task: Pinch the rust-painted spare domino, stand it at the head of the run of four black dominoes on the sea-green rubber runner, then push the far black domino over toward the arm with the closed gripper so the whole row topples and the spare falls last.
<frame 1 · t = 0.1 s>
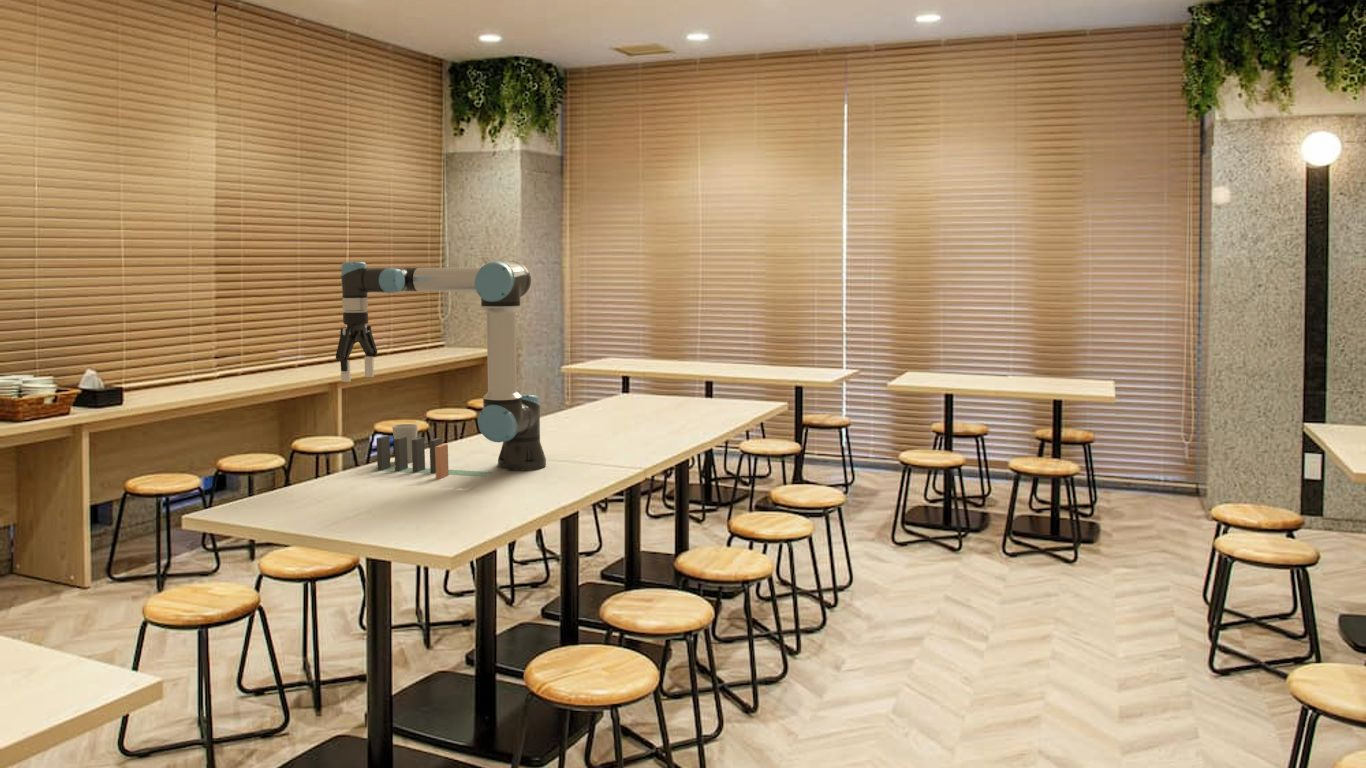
hand: (358, 379, 338), 28 cm above the table, fingers open, 13 cm apart
cup: (406, 463, 349), on the table
domino 2: (436, 471, 332), resting on runner
runner: (432, 472, 333), on the table
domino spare: (442, 478, 324), on the table
domino 5: (384, 468, 337), resting on runner
domino 3: (419, 470, 334), resting on runner
domino 4: (401, 469, 335), resting on runner
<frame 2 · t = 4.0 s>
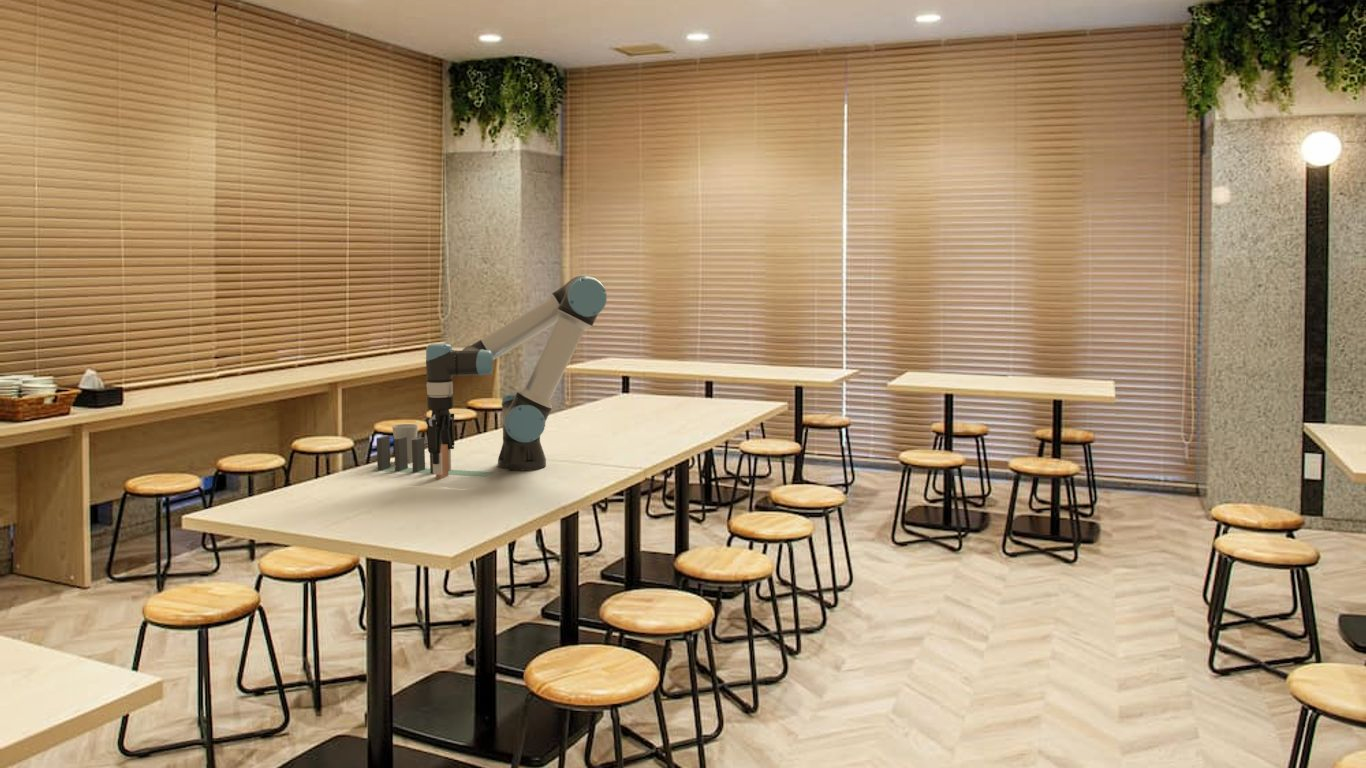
hand: (442, 472, 324), 2 cm above the table, fingers closed on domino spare, 5 cm apart
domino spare: (442, 478, 324), on the table, touching gripper
everything else where it was.
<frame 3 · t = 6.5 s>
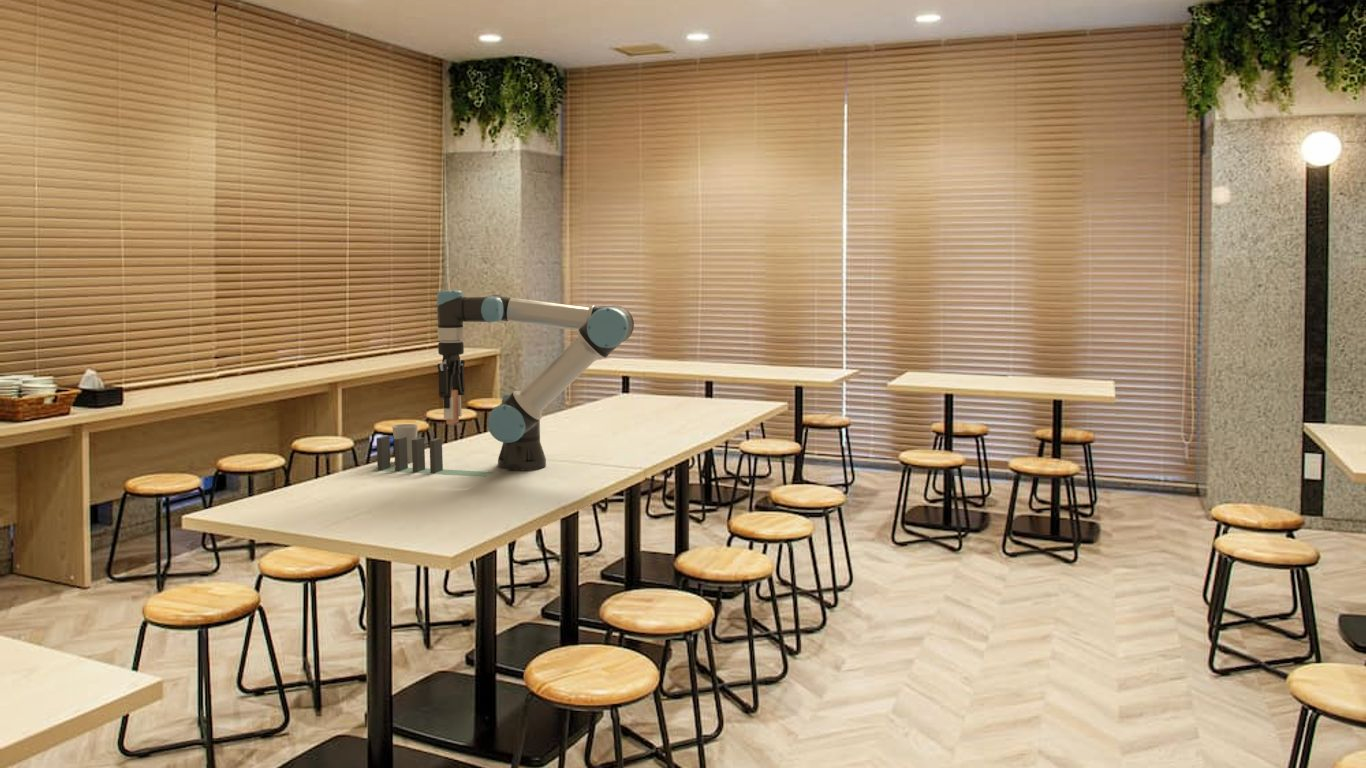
hand: (452, 417, 329), 17 cm above the table, fingers closed on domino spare, 5 cm apart
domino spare: (452, 423, 329), point 16 cm above the table, touching gripper
everything else where it was.
when the fingers open (3 cm above the table, at t = 9.3 s): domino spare stays where it is, resting on runner.
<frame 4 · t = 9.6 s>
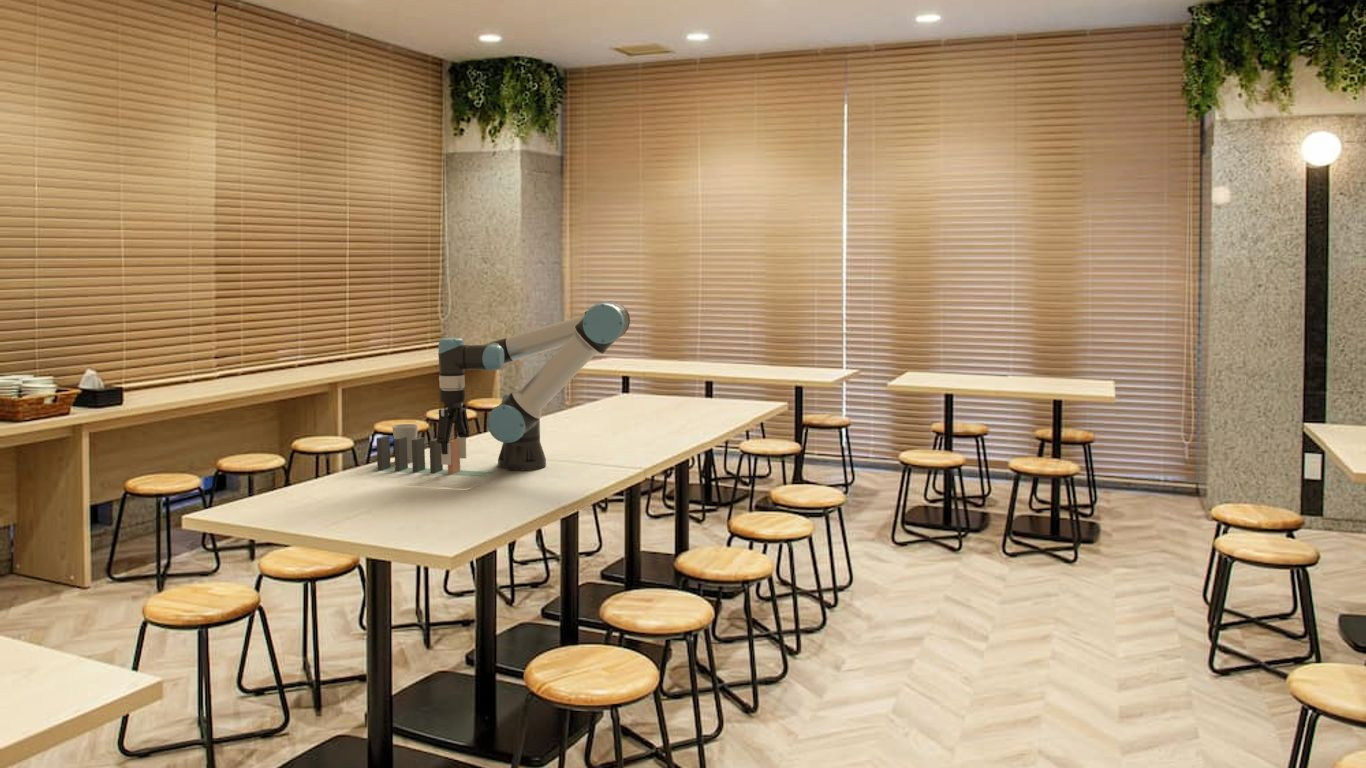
hand: (454, 461, 330), 4 cm above the table, fingers open, 10 cm apart
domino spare: (454, 472, 331), resting on runner
everything else where it was.
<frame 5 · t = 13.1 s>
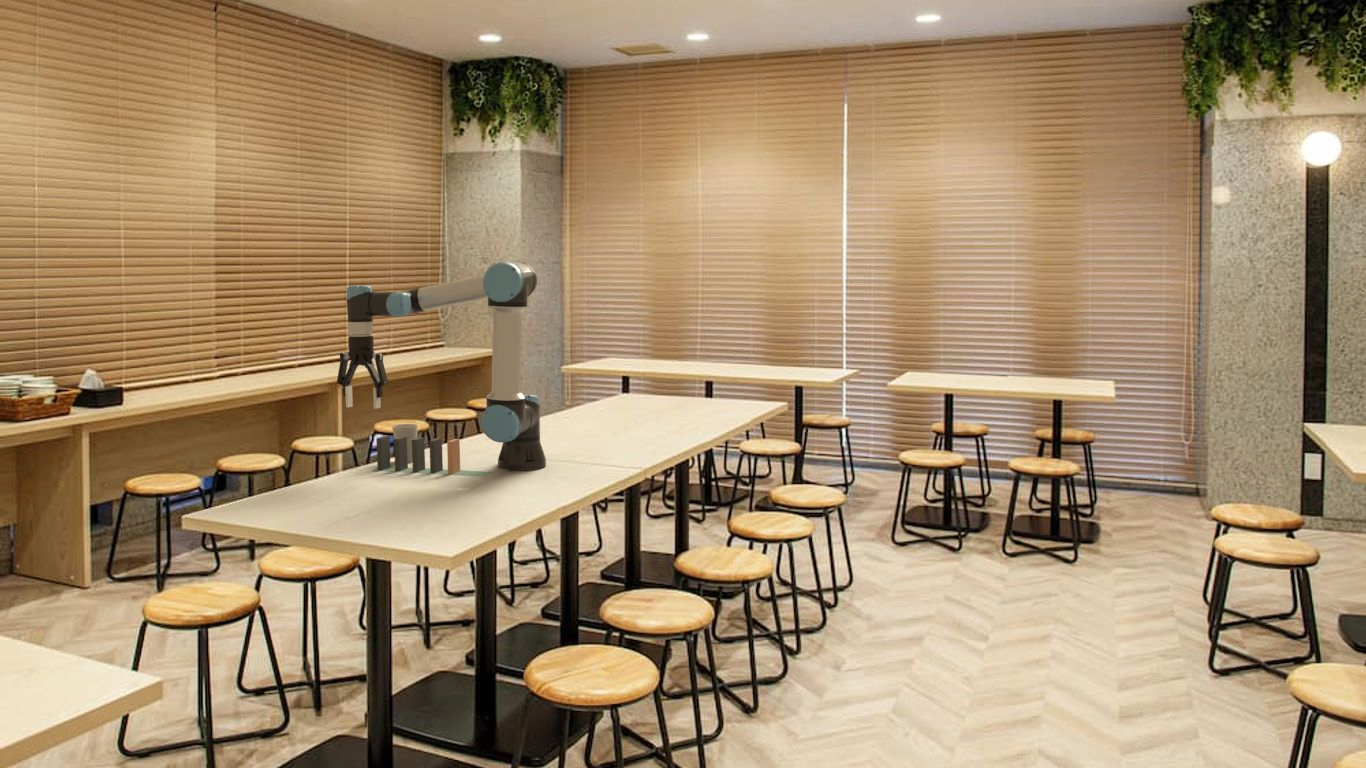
hand: (363, 407, 336), 20 cm above the table, fingers open, 9 cm apart
nothing on the table moved.
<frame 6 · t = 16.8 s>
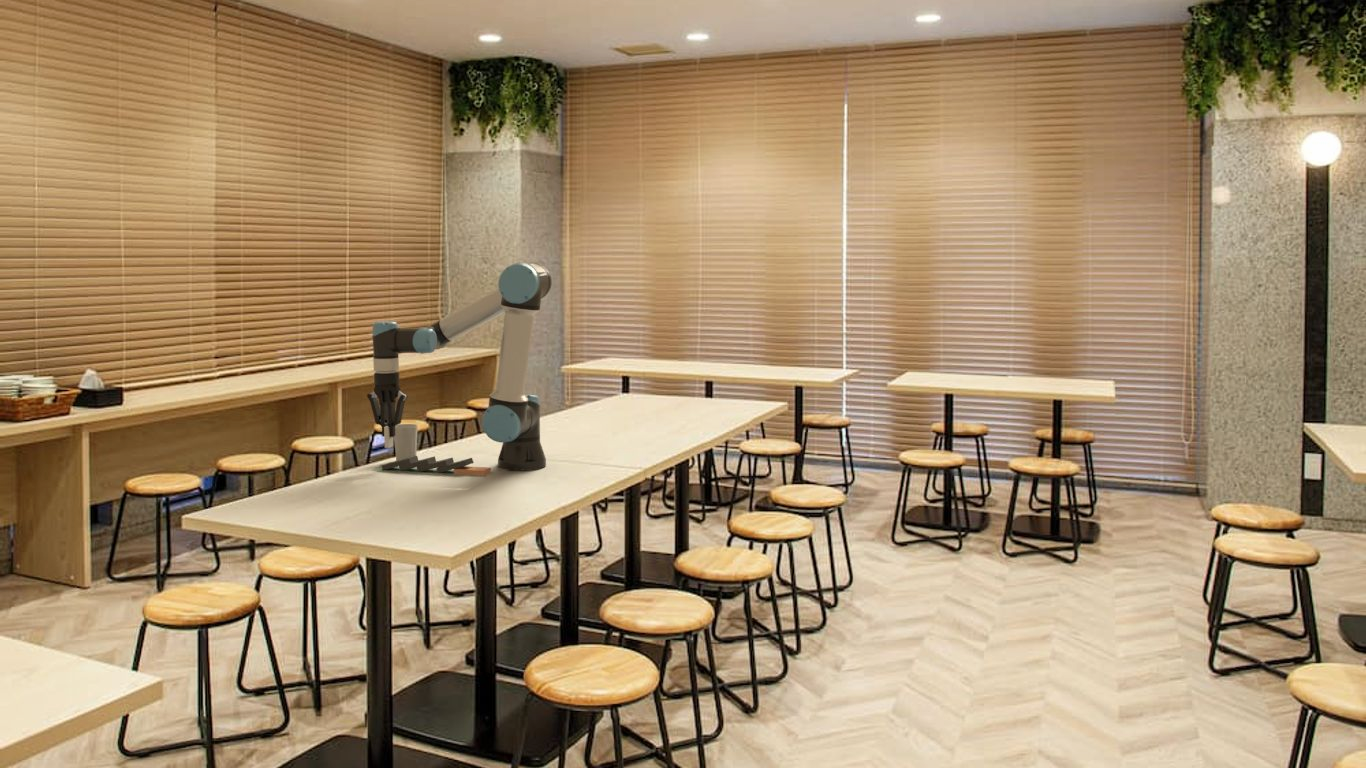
hand: (389, 447, 335), 7 cm above the table, fingers closed
domino 2: (440, 469, 332), point 1 cm above the table, tilted 73°, touching domino 3, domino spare, runner
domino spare: (457, 470, 330), point 1 cm above the table, tilted 90°, touching domino 2, runner
domino 5: (386, 466, 336), point 1 cm above the table, tilted 75°, touching domino 4, runner
domino 3: (421, 468, 333), point 1 cm above the table, tilted 75°, touching domino 2, domino 4, runner
domino 4: (403, 467, 335), point 1 cm above the table, tilted 75°, touching domino 3, domino 5, runner
everything else where it was.
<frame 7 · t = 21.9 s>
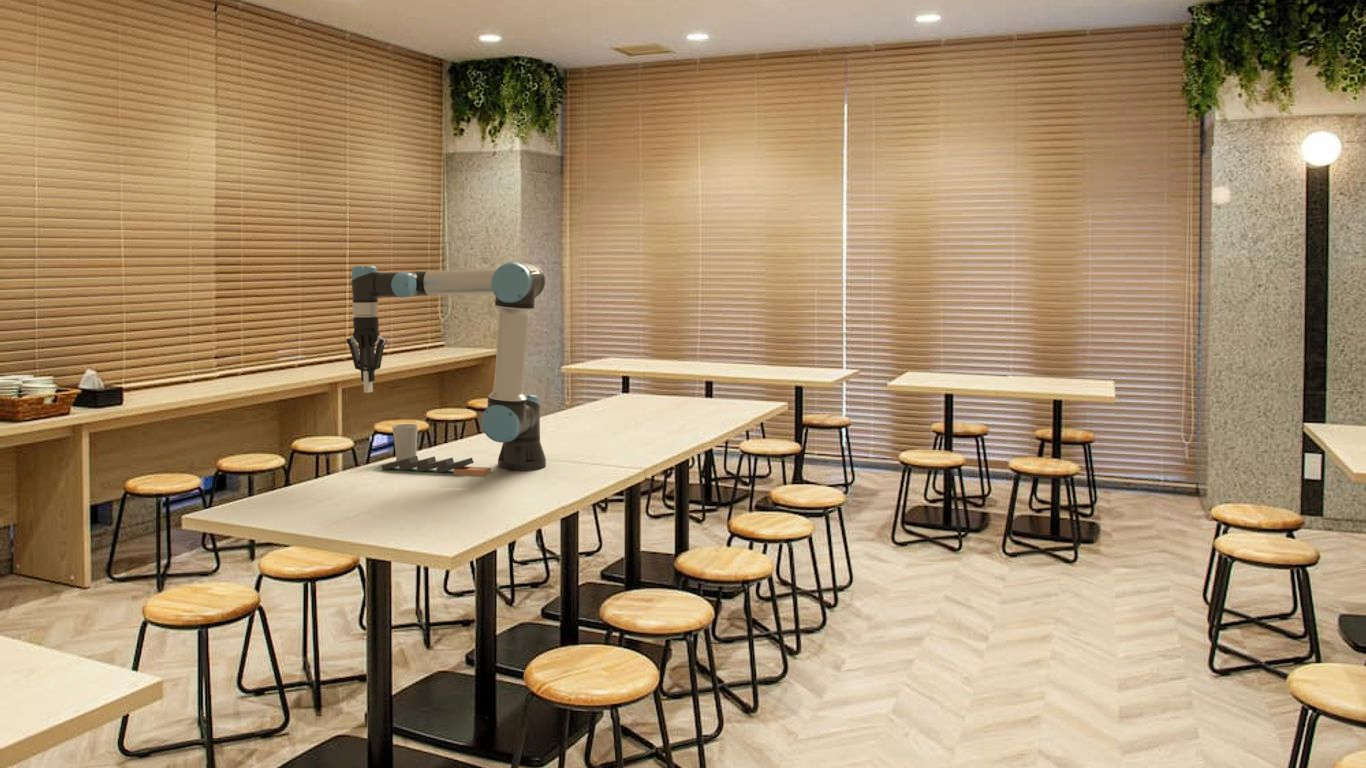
hand: (368, 392, 335), 24 cm above the table, fingers closed
nothing on the table moved.
at the end: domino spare tilted 90°; domino 5 tilted 75°; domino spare inside the target area (0.5 cm from its centre), point 1.2 cm above the table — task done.
